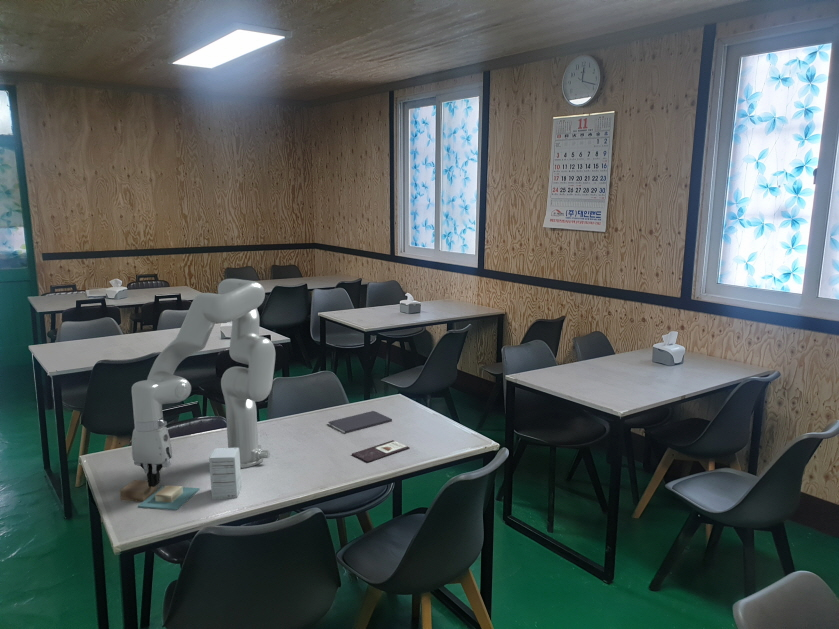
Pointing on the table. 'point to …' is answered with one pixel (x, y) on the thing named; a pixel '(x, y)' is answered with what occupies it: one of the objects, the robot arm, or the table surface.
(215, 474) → the supplement box
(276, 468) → the table surface
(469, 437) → the table surface
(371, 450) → the chocolate bar
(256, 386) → the robot arm
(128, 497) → the walnut block
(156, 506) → the rubber mat
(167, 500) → the birch block
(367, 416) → the notebook
